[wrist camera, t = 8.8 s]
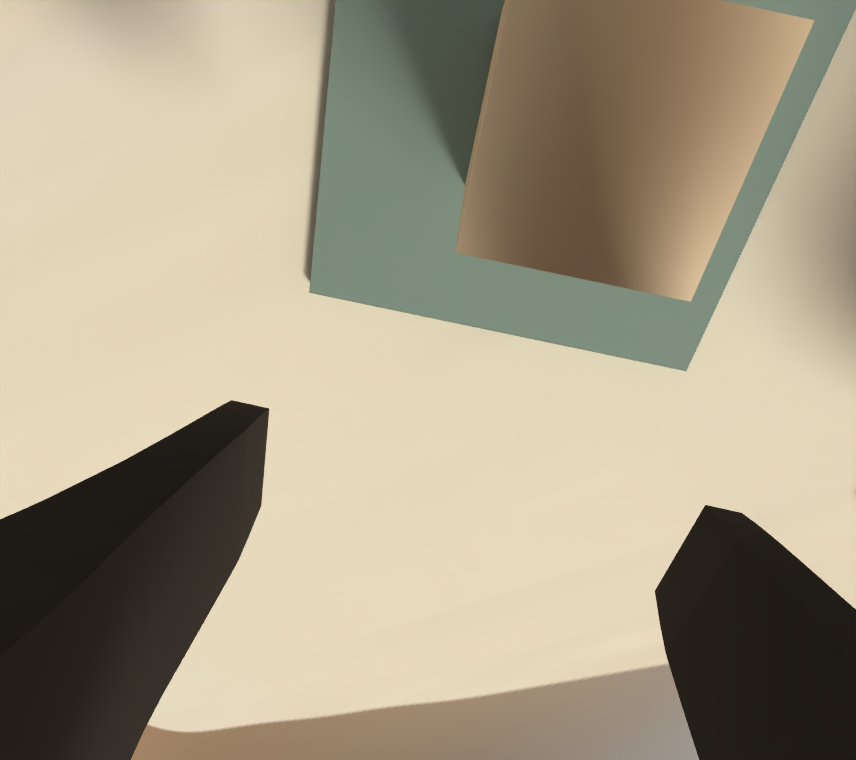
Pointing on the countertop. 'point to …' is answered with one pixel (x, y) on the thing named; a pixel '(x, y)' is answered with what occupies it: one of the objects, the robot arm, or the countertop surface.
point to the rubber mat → (447, 171)
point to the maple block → (621, 135)
